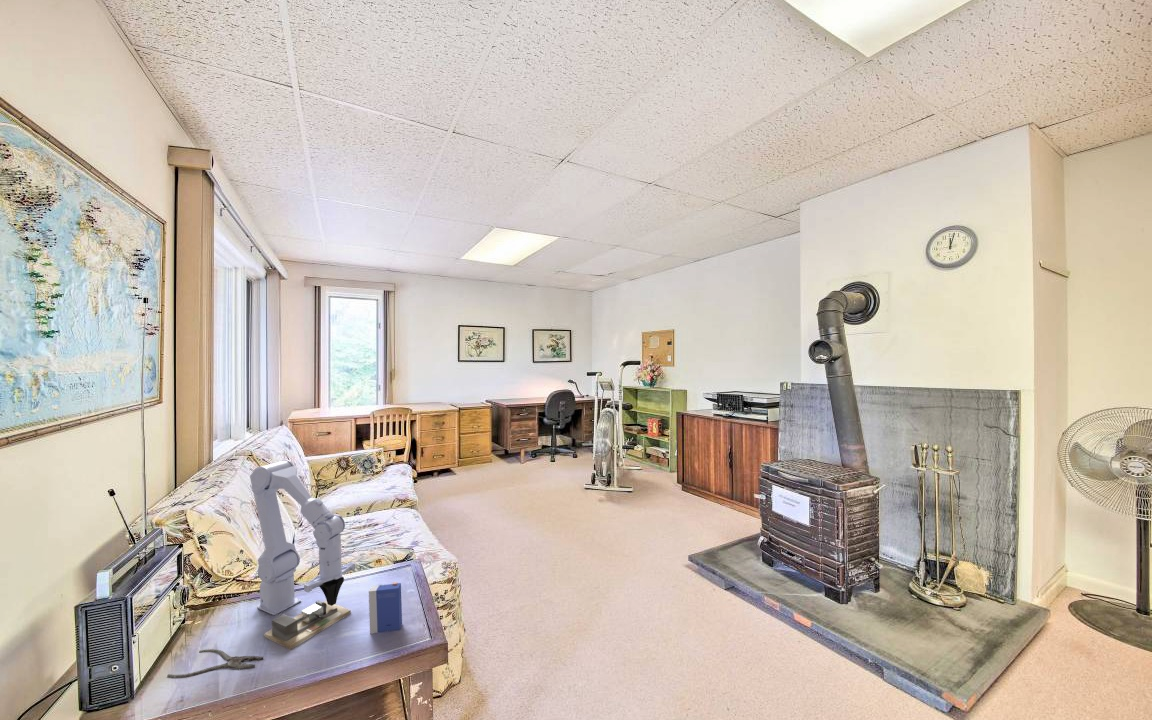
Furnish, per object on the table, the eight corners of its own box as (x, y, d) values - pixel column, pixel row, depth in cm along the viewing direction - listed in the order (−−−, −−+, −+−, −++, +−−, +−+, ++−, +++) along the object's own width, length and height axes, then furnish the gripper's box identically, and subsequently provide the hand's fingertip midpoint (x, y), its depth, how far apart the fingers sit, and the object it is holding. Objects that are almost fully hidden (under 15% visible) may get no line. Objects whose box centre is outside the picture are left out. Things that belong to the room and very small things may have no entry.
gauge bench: (325, 603, 130) (325, 587, 130) (350, 613, 125) (350, 596, 125) (264, 636, 115) (264, 618, 115) (290, 649, 110) (289, 630, 110)
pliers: (192, 650, 110) (277, 639, 113) (193, 653, 110) (277, 642, 113) (163, 678, 100) (256, 665, 103) (163, 681, 100) (256, 668, 103)
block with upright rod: (318, 611, 124) (318, 600, 124) (332, 616, 121) (332, 605, 121) (301, 620, 120) (301, 609, 120) (315, 626, 117) (315, 615, 117)
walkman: (402, 623, 119) (400, 581, 119) (399, 630, 116) (398, 586, 116) (372, 627, 118) (371, 584, 118) (369, 633, 115) (368, 590, 115)
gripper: (314, 572, 117) (315, 621, 118) (361, 550, 130) (362, 594, 130) (299, 567, 121) (300, 614, 121) (346, 546, 134) (347, 589, 134)
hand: (331, 603), depth 126 cm, fingers closed
